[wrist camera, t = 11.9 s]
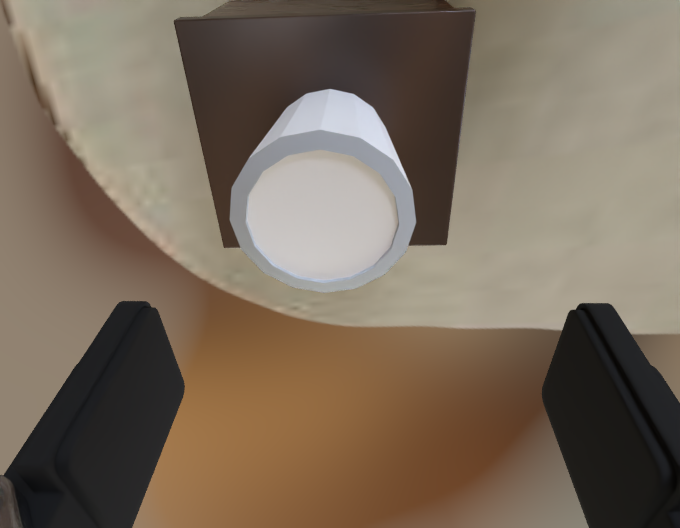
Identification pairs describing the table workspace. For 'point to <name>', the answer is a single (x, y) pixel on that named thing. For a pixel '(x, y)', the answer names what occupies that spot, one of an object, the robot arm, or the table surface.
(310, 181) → the white cup
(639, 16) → the table surface
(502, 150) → the table surface
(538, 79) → the table surface
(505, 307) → the table surface
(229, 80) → the brown block with crank
